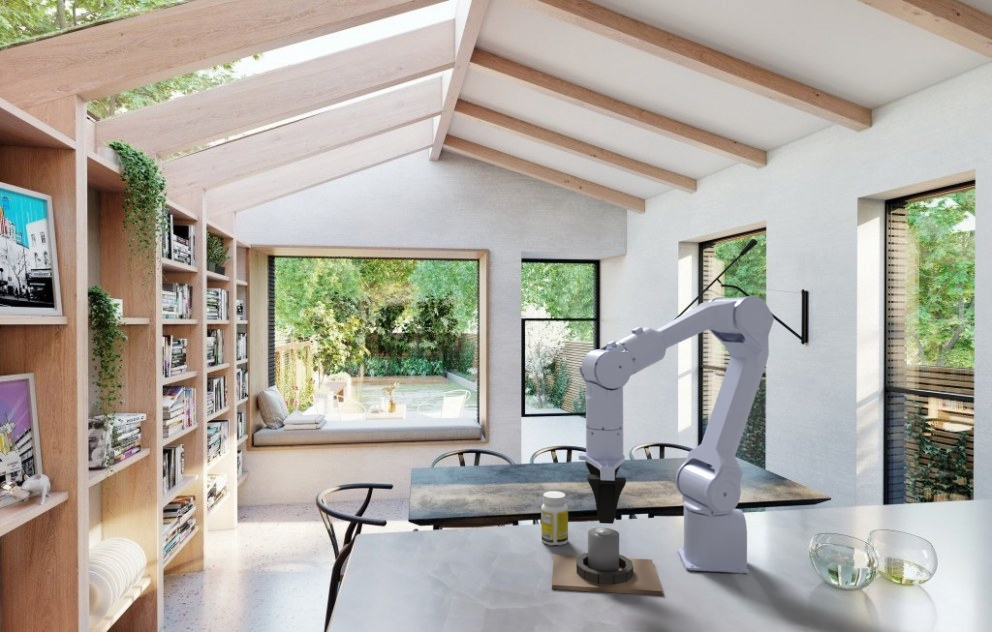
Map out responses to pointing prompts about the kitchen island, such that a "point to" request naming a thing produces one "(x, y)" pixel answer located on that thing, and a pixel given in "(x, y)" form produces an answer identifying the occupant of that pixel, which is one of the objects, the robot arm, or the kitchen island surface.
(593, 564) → the cap
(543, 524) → the supplement bottle
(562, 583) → the ring board
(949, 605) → the kitchen island surface
